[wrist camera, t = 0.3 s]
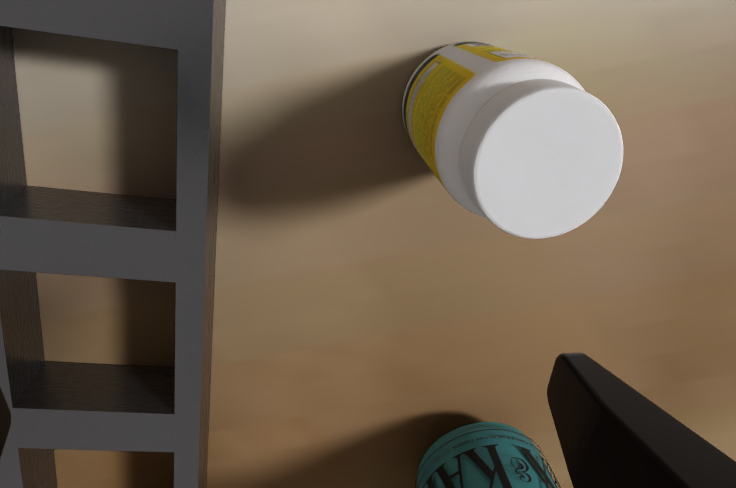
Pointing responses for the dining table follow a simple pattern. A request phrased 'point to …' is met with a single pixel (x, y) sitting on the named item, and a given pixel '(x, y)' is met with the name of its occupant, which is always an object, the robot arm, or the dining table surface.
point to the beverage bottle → (484, 460)
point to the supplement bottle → (513, 138)
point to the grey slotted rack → (112, 256)
